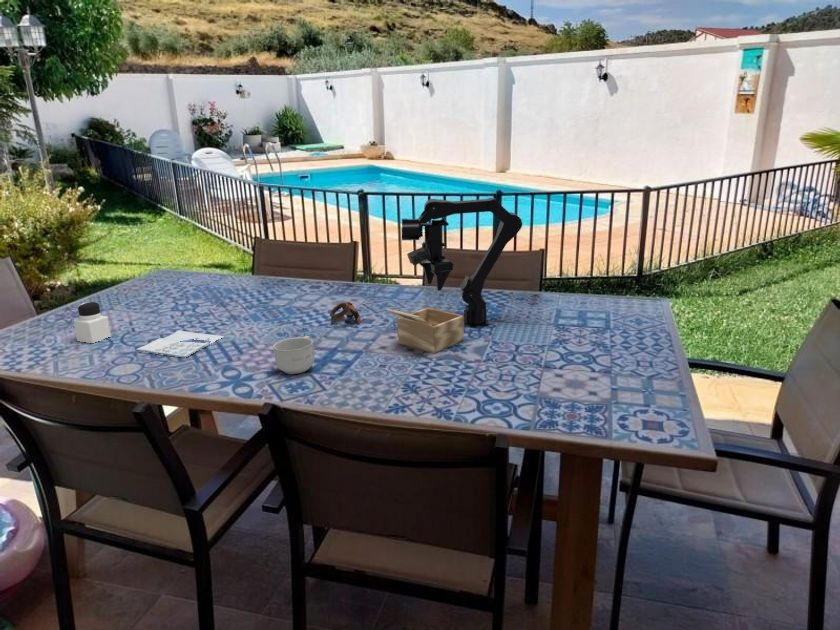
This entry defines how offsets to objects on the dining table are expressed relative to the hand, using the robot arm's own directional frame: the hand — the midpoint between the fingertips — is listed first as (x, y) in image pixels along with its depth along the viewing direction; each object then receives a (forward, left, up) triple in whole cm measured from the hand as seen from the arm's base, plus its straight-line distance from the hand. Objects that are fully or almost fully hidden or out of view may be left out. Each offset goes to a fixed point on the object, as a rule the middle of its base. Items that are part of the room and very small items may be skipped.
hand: (434, 287), depth 205 cm
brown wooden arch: (+27, -14, -13) cm, 33 cm away
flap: (+15, +20, -2) cm, 25 cm away
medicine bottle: (+106, -27, -13) cm, 110 cm away
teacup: (+48, +22, -13) cm, 54 cm away
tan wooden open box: (+7, +15, -13) cm, 21 cm away
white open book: (+79, -11, -14) cm, 81 cm away
